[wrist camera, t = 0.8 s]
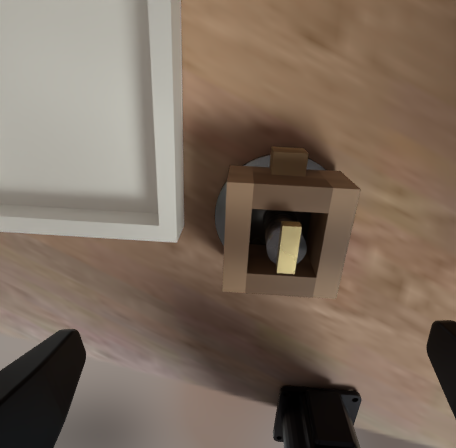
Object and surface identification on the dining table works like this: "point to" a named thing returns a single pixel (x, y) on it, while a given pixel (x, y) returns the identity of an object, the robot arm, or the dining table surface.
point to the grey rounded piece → (273, 226)
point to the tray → (91, 118)
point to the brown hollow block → (288, 201)
